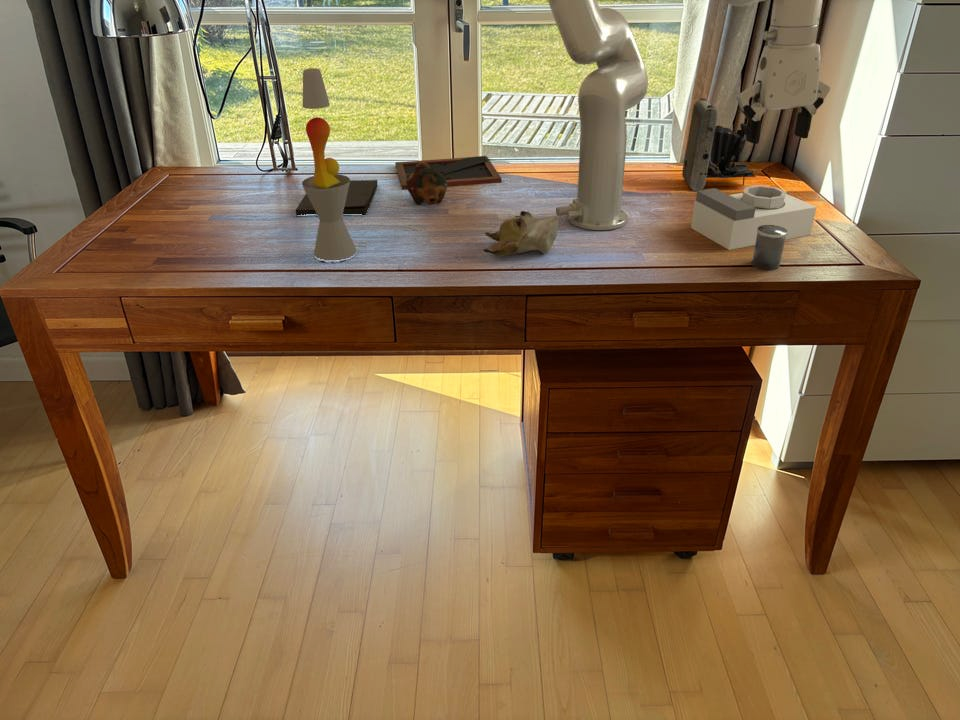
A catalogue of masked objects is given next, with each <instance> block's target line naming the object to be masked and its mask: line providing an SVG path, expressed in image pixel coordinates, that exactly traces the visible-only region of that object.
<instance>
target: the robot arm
mask: <svg viewBox="0 0 960 720" xmlns="http://www.w3.org/2000/svg"><path fill="white" fill-rule="evenodd" d="M720 1H721V2H723V3H725V4H727V5H730V6H732V7H733V6H734V7H745V6H750V5H752V4H755V3H761V2H764V1H765V0H720ZM547 2H548V6H549V8H550V11H551V13H552V16H553V19H554V21H555V24H556V26H557V29H558V32H559V34H560V37H561V40H562V42H563V45H564V48H565V49H566V52H567V54H568V57H569V58H570V59H571V60H572V62H574V63H576V64H578V65H583V66H584V65H590V64H596V66H597V69H595V70H593V71H592V72H590V73H589V74H587V75H586V77H585V78H584V79H583V80H582V82H581V84H580V87H579V90H578V95H577V96H578V97H577V100H578V101H577V102H578V103H577V104H578V105H577V106H578V113H579V122H580V123H579V124H580V125H579V126H580V129H579V130H580V131H579V133H580V136H579V137H580V138H579V156H578V157H579V158H578V159H579V160H578V177H577V179H578V180H577V194H576V195H577V196H576V197H577V198H573V199H572V202H571V203H570V204H568V205H563V206H556V208H555V215H556V217H562V216H566V217H567V219H568V220H569V222H570V223H571V224H572V225H573V226H575V227H577V228H581V229H585V230H593V231H609V230H615V229H619V228H622V227H623V226H625V225H626V224H627V223H628V215H627V213H626V212H625V211H623V210H622V203H623V202H622V200H623V199H622V198H623V190H624V189H623V187H624V179H625V178H624V177H625V168H626V167H625V165H626V164H625V163H626V155H627V154H626V153H627V143H628V142H627V140H628V131H627V130H628V129H627V122H626V111H628V110H630V109H633V107H635V106H637V105H638V104H640V103H641V101H642V100H643V99H644V98H645V96H646V94H647V91H648V87H649V78H648V72H647V69H646V67H645V64H644V60H643V58H642V55H641V53H640V50H639V47H638V45H637V42H636V39H635V36H634V33H633V31H632V28H631V26H630V24H629V22H628V21H627V19H626V18H625V17H624V15H623V14H622V13H621V12H619V11H618V10H616V9H613V8H610V7H600V6H599V4H598V2H597V0H547ZM822 7H823V0H773V4H772V12H771V19H770V25H769V28H768V30H766V31H764V32H763V34H762V38H763V40H764V41H767V45H764V47H763V50H762V53H761V56H760V58H759V62H758V66H757V70H756V74H755V79H754V83H753V84H752V85H751V86H749V87H747V88H746V89H745V90H743V91H742V92H740V93H738V94H737V95H736V100H737V102H738V105H739V110H740V112H741V113H742V114H743V115H744V116H745V117H744V118H746V119H747V120H746V121H747V122H746V125H747V128H746V135H745V137H746V138H745V140H747V141H746V142H748V143H751V144H752V145H758V144H759V142H760V137H761V130H762V129H761V128H762V124H763V123H762V121H761V120H760V118H761V117H762V116H763V115H764V114H765V113H766V111H767V110H771V111H772V110H773V111H775V110H785V109H786V110H787V109H794V108H796V109H797V108H799V109H800V111H799V112H798V113H797V116H796V121H795V128H794V133H793V134H794V135H795V136H796V137H799V138H801V139H808V138H809V132H810V130H811V125H812V118H813V116H815V115H817V110H818V109H819V108H820V107H821V106H822V105H823V104H824V101H825V100H824V99H826V97H827V95H828V94H829V92H830V90H831V87H830V86H828V85H827V84H826V83H824V82H822V81H820V75H821V74H820V73H821V47H820V44H819V43H816V42H817V37H818V36H817V35H818V31H819V24H820V19H821V13H822ZM751 98H752V103H753V104H752V105H751V106H750V103H749V102H750V101H749V100H750V99H751Z"/></svg>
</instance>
